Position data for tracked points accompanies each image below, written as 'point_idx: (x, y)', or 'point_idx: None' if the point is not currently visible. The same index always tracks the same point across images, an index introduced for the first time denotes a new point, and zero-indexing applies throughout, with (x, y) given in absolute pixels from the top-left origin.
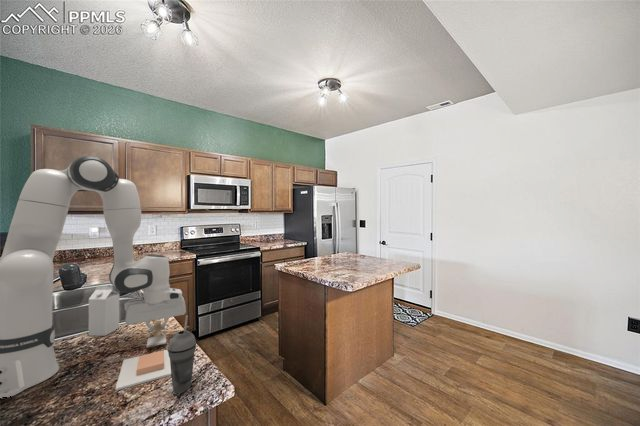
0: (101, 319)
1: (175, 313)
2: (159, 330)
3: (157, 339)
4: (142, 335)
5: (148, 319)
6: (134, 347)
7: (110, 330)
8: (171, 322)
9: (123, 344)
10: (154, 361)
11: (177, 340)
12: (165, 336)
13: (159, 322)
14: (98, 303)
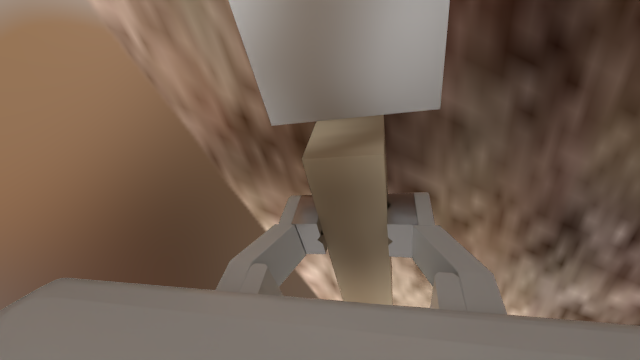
0: None
1: (90, 319)
2: (317, 149)
3: (326, 8)
4: (460, 243)
5: (478, 345)
6: (555, 65)
7: None
8: (322, 298)
9: (620, 172)
10: None
11: None
12: (258, 68)
13: (350, 290)
14: None
